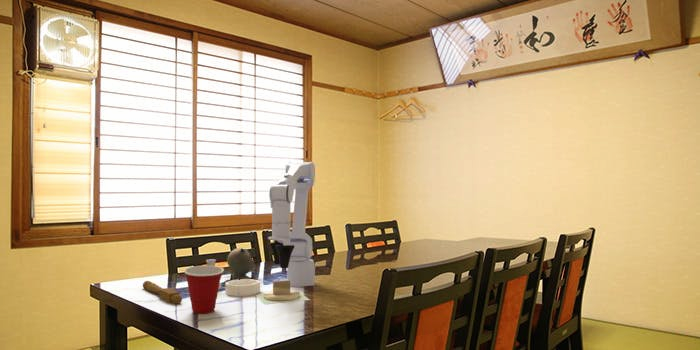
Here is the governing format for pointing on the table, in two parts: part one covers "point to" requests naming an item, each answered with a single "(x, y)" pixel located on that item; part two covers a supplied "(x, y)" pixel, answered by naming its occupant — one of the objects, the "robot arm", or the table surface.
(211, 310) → the plastic cup
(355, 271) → the table surface
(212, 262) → the flask
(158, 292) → the tap handle
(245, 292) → the bowl
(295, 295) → the lid
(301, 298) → the mat
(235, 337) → the table surface
